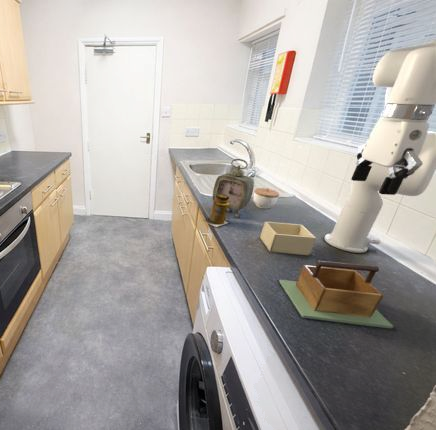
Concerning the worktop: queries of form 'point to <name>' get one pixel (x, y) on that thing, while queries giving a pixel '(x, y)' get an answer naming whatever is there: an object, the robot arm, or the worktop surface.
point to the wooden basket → (339, 288)
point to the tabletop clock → (235, 188)
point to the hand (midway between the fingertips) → (371, 186)
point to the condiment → (218, 211)
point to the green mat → (308, 312)
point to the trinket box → (265, 197)
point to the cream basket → (287, 238)
